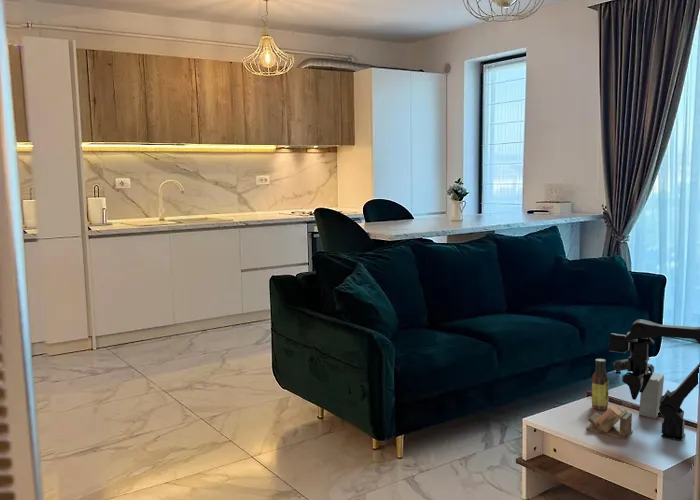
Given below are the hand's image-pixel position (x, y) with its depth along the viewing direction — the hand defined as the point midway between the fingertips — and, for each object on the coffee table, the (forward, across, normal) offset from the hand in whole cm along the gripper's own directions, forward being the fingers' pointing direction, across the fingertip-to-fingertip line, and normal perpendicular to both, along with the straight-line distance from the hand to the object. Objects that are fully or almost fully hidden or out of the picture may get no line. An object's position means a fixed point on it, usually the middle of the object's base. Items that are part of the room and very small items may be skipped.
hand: (637, 395), depth 233 cm
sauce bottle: (+13, -14, -18) cm, 26 cm away
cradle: (+13, +7, -8) cm, 17 cm away
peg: (+9, +7, -6) cm, 13 cm away
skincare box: (+13, -19, 0) cm, 23 cm away
